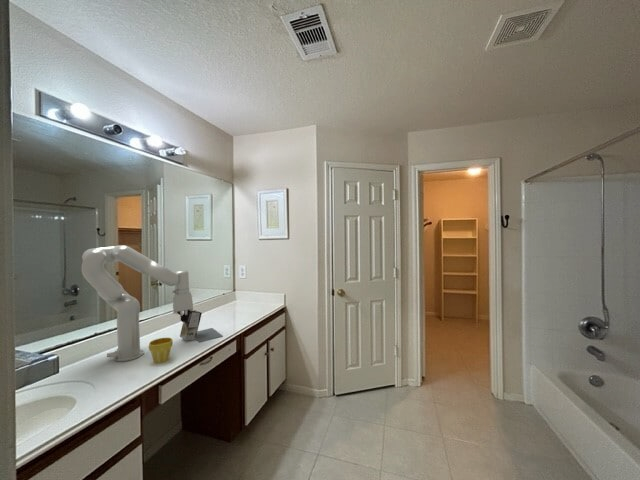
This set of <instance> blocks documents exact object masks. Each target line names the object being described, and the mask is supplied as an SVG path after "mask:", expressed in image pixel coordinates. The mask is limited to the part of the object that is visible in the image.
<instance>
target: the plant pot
mask: <svg viewBox="0 0 640 480" xmlns="http://www.w3.org/2000/svg"><path fill="white" fill-rule="evenodd" d="M173 340H174V339H173V338H172V337H159V338H155V339H153V340H151V341H150V342H149V344H148V350H149V352H150V353H151V357H152V361H153V363H154V364H162V363H165V362H167V361H169V359H170V355H171V350H172V347H173V343H174V341H173Z"/></svg>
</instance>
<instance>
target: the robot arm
mask: <svg viewBox="0 0 640 480" xmlns="http://www.w3.org/2000/svg"><path fill="white" fill-rule="evenodd" d="M81 259H82V262H81V274H82V276H83V278H84V279H85V280H86V281H87V282H88V283H89V284H90V286H91V287H92V288H93V289H95V290H96V293H97V294H98V296H99V297H100V298H101V299H102V300H103V301H105V302H106V303H107V304H108V305H109V306H110V307H111V308H112V309H114V310H115V311H116V313H117V314H116V315H117V316H116V330H117V331H116V332H117V333H116V334H117V335H116V337H117V338H116V339H117V349H116V350H114V351H113V352H109V353H106V358H110V359H111V358H114V361H116V362H118V363H119V362H121V363H122V362H128V361H132V360H136V359H138V358H140V357H142V356H143V355H144V354H145V353H144V350H143V349H141V340H140V339H141V338H140V334H141V333H140V311H141V307H140V306H141V305H140V301H139V300H138V299H137V298H136V297H135V296H132V295H130V294H129V292H127V291H126V290H125V289H124V286H123V285H122V284H121V283H120V282H118V281H117V280H116V279H115V278H114V277H113V276H112V275H111V274H110V273H109V272H108V271H107V270H106V268H105V264H108V263H109V264H111V263H116V262H120V263H122V264H124V265H125V266H127V267H130V268H131V269H133V270H135V271H136V272H139V273H140V274H143V275H145V276H149V277H150V278H151V277H152V278H153V279H155V280H157V281H158V282H159V283H160V284H162V285H164V286H167V287H168V286H169V287H174V290H172V294H173V301H172V303H173V304H172V309H173V310H172V313H173V314H175V315H177V314H178V315H180V316H179V317H180V321H181V322H182V323H183V322H186V320H187V313H188V312H189V311H191V310H194V303H193V296H192V293H191V291H190V282H189V280H190V279H189V271H188V270H183V269H182V270H177V271H172V270H170V269H169V268H167V267H165V266H164V265H161V264H160V263H158V262H156V261H155V260H154V259H153V260H152V259H150V258H149V257H147V256H146V255H144V254H142V253H140V252H139V251H137V250H136V249H134V248H132V247H130V246H128V245H123V244H122V245H115V246H114V245H112V246H105V247H94V248H89V249H87V250H85V251H84V252H83V253H82V255H81Z"/></svg>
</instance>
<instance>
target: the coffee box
mask: <svg viewBox="0 0 640 480" xmlns="http://www.w3.org/2000/svg"><path fill="white" fill-rule="evenodd" d="M202 314H203V312H201V311H198V310H194V309H193V310H191V311H189V312H188V313H187V320H186V322H182V324H181V325H182V326H181V330H180V334H179V337H180V338H182V339H184V341H196V335H197V331H199V326H200V322H201V318H202Z"/></svg>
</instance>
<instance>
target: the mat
mask: <svg viewBox="0 0 640 480" xmlns="http://www.w3.org/2000/svg"><path fill="white" fill-rule="evenodd" d="M223 337H224V335H222V334H221V333H220V332H219V331H217V330H216V329H214V328H213V327H211V328H205V329H202V330H198V331H197V335H196V339H195V341H197V343H204V342H207V341H212V340H215V339H219V338H223Z"/></svg>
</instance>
